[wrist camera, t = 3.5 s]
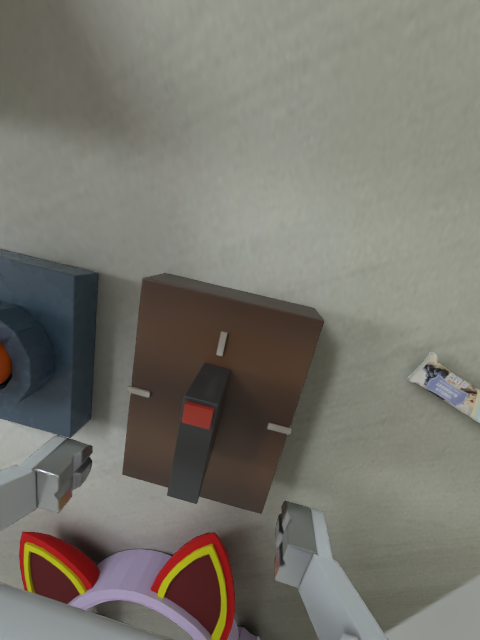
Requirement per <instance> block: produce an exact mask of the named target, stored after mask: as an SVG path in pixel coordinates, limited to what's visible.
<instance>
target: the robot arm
mask: <svg viewBox="0 0 480 640" xmlns="http://www.w3.org/2000/svg"><path fill="white" fill-rule="evenodd" d="M91 454H92V446H91V445H88V444H85V443H82V442H79V441H76V440H72V439H69V438H66V437H63V436H59V435H57V436H54V437H53V438H51V439H50V440H49V441H48V442H47V443H45V444H44V445H43V446H42V447H41V448H39V449H38V450H37V451H36V452H35V453H34V454H32V455H31V456H30V457H29V458H28V459H26V460H25V461H24V462H23V463H22V464H21V465H19V466H18V465H14V466H11V467H9V468H6V469H4V470H1V471H0V531H1V530H3V529H5V528H6V527H8V526H10V525H11V524H13V523H15V522H16V521H18V520H19V519H21V518H23V517H24V516H26V515H28V514H29V513H31V512H33V511H34V510H36V509H37V508H41V509H44V510H48V511H52V512H56V513H59V512H60V511H61V509H62V508H63V507H64V506H65V504H66V503H67V502H68V501H69V500H70V498H71V497H72V491H73V490H74V489H76V488H78V487H80V486H81V485H82V484H83V482H84V481H85V480H86V478H87V476H88V474H89V473H90V470H91V467H92V460H91V458H90V457H89V456H90V455H91ZM275 546H276V548H277V553H276V556H275V580H276V581H279V582H282V583H285V584H288V585H291V586H293V587H296V588H299V589H298V591H299V593H300V596H301V598H302V600H303V603H304V605H305V607H306V610H307V612H308V615H309V617H310V619H311V622H312V624H313V627H314V629H315V631H316V634H317V636H318V639H319V640H388V638H387V637H386V635H385V634H384V632H383V631H382V629H381V628H380V626H379V625H378V623H377V621H376V620H375V618H374V617H373V615H372V614H371V612H370V611H369V609H368V608H367V606H366V605H365V603H364V601H363V600H362V598H361V597H360V595H359V594H358V592H357V591H356V589H355V588H354V586H353V585H352V583H351V581H350V580H349V578H348V577H347V575H346V574H345V572H344V571H343V569H342V568H341V566H340V565H339V563H338V561H336V560H333V557H332V551H331V546H330V541H329V536H328V531H327V525H326V520H325V515H324V513H323V511H320V510H317V509H313V508H309V507H307V506H303V505H300V504H296V503H292V502H289V501H284V502H283V505H282V514H280V515H279V516H278V519H277V523H276V529H275ZM0 640H173V639H170V638H167V637H164V636H161V635H158V634H155V633H152V632H149V631H146V630H143V629H140V628H137V627H134V626H131V625H128V624H125V623H122V622H119V621H116V620H113V619H110V618H107V617H104V616H101V615H98V614H95V613H92V612H89V611H86V610H83V609H80V608H77V607H74V606H71V605H68V604H65V603H62V602H59V601H56V600H53V599H50V598H47V597H44V596H41V595H38V594H35V593H32V592H29V591H26V590H23V589H20V588H17V587H14V586H11V585H8V584H5V583H2V582H0Z"/></svg>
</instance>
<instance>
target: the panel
mask: <svg viewBox="0 0 480 640" xmlns="http://www.w3.org/2000/svg"><path fill="white" fill-rule="evenodd" d="M323 323H324V320H323V319H322V318H321V316H320V315H319V313H318V312H317V311H316V309H315V308H311V307H307V306H303V305H299V304H294V303H290V302H286V301H282V300H277V299H273V298H269V297H265V296H260V295H256V294H252V293H248V292H243V291H239V290H235V289H230V288H226V287H222V286H218V285H213V284H209V283H205V282H201V281H196V280H192V279H188V278H184V277H179V276H175V275H171V274H167V273H163V274H159V275H154V276H150V277H145V278H143V279H142V288H141V298H140V308H139V318H138V327H137V337H136V347H135V356H134V366H133V376H132V386H129V387H128V392H129V393H131V395H130V405H129V415H128V424H127V434H126V444H125V453H124V463H123V473H122V474H123V475H126V476H129V477H133V478H136V479H140V480H143V481H147V482H150V483H154V484H158V485H161V486H165V487H168V486H169V481H170V475H171V469H172V463H173V458H174V452H175V446H176V440H177V434H178V429H179V423H180V417H181V411H182V406H183V400H184V396H185V394H186V392H187V391H188V389H189V387H190V386H191V384H192V382H193V381H194V379H195V377H196V376H197V374H198V372H199V371H200V369H201V367H202V365H203V364H204V363H206V364H210V365H214V366H218V367H222V368H226V369H230V370H231V371H230V375H229V380H228V384H227V389H226V393H225V397H224V402H223V406H222V411H221V415H220V420H219V424H218V428H217V433H216V437H215V442H214V446H213V450H212V454H211V458H210V461H209V464H208V468H207V471H206V475H205V478H204V481H203V485H202V488H201V492H200V495H199V496H200V497H203V498H207V499H210V500H214V501H217V502H221V503H224V504H228V505H232V506H235V507H239V508H242V509H246V510H249V511H253V512H256V513H260V514H262V511H263V508H264V505H265V502H266V499H267V496H268V493H269V490H270V487H271V484H272V480H273V477H274V474H275V471H276V468H277V465H278V462H279V459H280V456H281V453H282V450H283V447H284V444H285V440H286V437H287V434H288V435H290V434H291V431H292V429H291V428H290V425H291V422H292V419H293V416H294V413H295V410H296V407H297V404H298V400H299V397H300V394H301V391H302V388H303V385H304V382H305V379H306V376H307V373H308V370H309V367H310V363H311V360H312V357H313V354H314V351H315V348H316V345H317V342H318V339H319V336H320V333H321V330H322V327H323Z"/></svg>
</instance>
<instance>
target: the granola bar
mask: <svg viewBox="0 0 480 640" xmlns="http://www.w3.org/2000/svg"><path fill="white" fill-rule="evenodd" d="M407 379H408V380H409V381H410V382H412V383H418V384H419V385H420V386H422V387H423V388H425V389H427V390H428V391H430V392H431V393H433V394H434V395H436V396H437V397H439V398H440V399H442V400H444V401H445V402H447V403H448V404H450V405H451V406H453V407H454V408H456V409H458V410H459V411H461V412H462V413H464V414H465V415H467V416H469V417H470V418H472V419H473V420H475V421H476V422H478V423H480V389H478V388H477V387H475V386H474V385H472V384H471V383H469V382H467V381H466V380H464V379H463V378H461V377H460V376H458V375H457V374H455V373H453V372H452V371H450V370H449V369H447V368H446V367H444V366H443V365H441V364H439V363H438V362H437V356H436V354H434V353H433V352H430V353H429V355H428V356H427V358H426V359H425V360H424V362H423V363H422V364H421V365H420V366H419V367H418V368H417V369H416V370H415V371H413V372H412V373H411V374H410V375H409V377H408V378H407Z"/></svg>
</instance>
